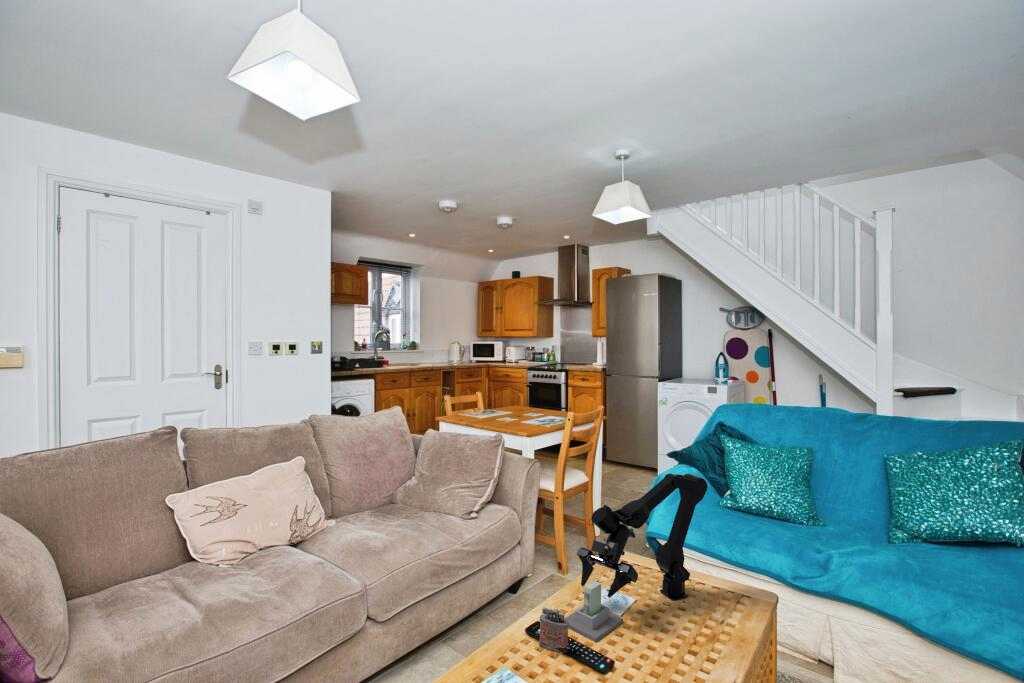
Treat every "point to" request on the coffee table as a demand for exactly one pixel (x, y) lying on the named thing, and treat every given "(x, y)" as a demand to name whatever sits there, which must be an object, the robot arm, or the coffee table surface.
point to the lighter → (553, 630)
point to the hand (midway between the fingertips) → (595, 591)
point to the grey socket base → (593, 623)
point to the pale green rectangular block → (592, 598)
